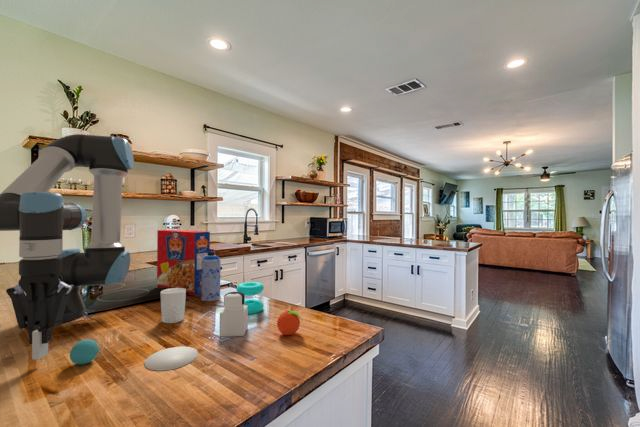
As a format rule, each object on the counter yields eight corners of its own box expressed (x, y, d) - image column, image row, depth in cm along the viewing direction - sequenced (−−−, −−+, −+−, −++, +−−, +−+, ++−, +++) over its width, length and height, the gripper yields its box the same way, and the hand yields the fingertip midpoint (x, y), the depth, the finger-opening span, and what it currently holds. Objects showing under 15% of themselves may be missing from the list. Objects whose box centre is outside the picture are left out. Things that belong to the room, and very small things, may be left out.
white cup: (175, 325, 96) (175, 294, 96) (154, 323, 98) (154, 293, 98) (190, 316, 104) (191, 288, 104) (171, 315, 105) (171, 287, 105)
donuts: (268, 282, 114) (253, 288, 105) (268, 308, 114) (253, 316, 105) (247, 280, 118) (230, 285, 108) (247, 305, 118) (230, 312, 108)
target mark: (135, 372, 68) (135, 371, 68) (156, 348, 79) (156, 347, 79) (190, 368, 69) (190, 368, 69) (203, 346, 81) (203, 345, 81)
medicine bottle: (225, 327, 94) (225, 290, 94) (247, 327, 95) (248, 289, 95) (219, 337, 87) (219, 296, 87) (243, 336, 88) (244, 296, 88)
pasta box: (157, 287, 145) (157, 230, 145) (172, 284, 151) (172, 229, 151) (194, 295, 131) (194, 232, 131) (209, 291, 137) (209, 231, 137)
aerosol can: (213, 294, 132) (213, 250, 132) (224, 297, 127) (224, 251, 127) (197, 298, 126) (197, 251, 126) (208, 302, 121) (208, 253, 121)
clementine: (306, 332, 91) (306, 309, 91) (297, 341, 85) (297, 316, 85) (283, 328, 94) (283, 306, 94) (272, 337, 87) (273, 313, 87)
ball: (63, 369, 68) (63, 346, 68) (79, 358, 74) (79, 336, 74) (89, 368, 69) (90, 344, 69) (103, 356, 75) (103, 335, 75)
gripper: (-5, 260, 65) (-7, 366, 65) (60, 259, 67) (59, 362, 67) (23, 255, 73) (22, 351, 73) (82, 254, 75) (81, 348, 75)
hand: (40, 356), depth 70 cm, fingers closed
